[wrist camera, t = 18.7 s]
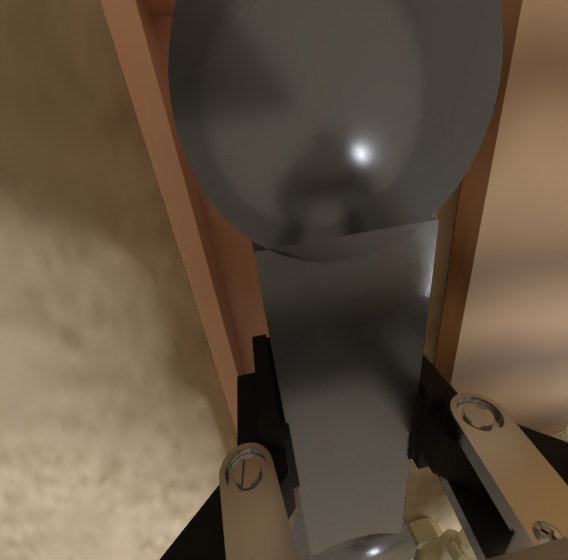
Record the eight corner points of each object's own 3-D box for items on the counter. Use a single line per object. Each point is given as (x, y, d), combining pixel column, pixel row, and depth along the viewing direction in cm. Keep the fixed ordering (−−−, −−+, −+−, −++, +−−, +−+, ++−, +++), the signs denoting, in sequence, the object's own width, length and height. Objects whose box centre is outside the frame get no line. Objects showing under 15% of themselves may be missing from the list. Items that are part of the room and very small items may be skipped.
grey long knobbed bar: (372, 481, 16) (411, 576, 13) (287, 502, 16) (303, 606, 12) (383, -6, 7) (545, -172, 3) (176, 16, 6) (103, -145, 3)
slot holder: (376, 440, 20) (395, 479, 18) (258, 468, 19) (261, 512, 17) (390, -33, 9) (442, -94, 7) (122, -7, 9) (80, -64, 6)
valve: (435, 536, 29) (501, 462, 24) (486, 636, 23) (585, 562, 19) (380, 539, 27) (440, 460, 23) (420, 648, 21) (511, 569, 17)
